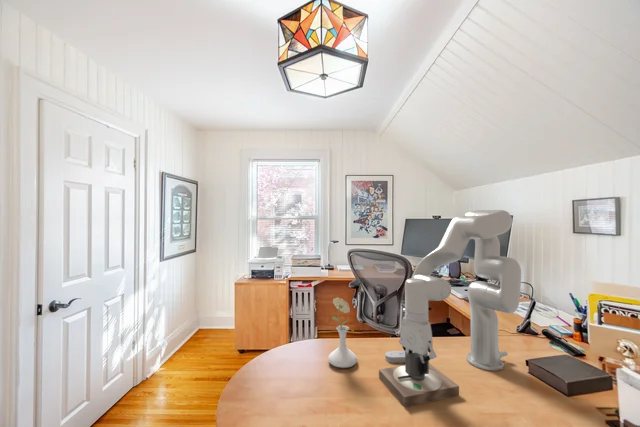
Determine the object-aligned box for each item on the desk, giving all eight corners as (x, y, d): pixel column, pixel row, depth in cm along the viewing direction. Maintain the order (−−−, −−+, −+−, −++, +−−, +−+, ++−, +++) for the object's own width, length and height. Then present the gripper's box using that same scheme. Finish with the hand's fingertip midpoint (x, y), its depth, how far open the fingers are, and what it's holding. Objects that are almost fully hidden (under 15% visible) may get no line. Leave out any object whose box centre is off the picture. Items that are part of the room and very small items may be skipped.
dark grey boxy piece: (421, 370, 98) (421, 350, 99) (430, 378, 94) (430, 357, 94) (394, 374, 96) (394, 353, 96) (402, 383, 91) (402, 361, 91)
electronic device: (383, 333, 116) (419, 332, 116) (384, 357, 116) (420, 356, 116) (386, 339, 111) (424, 338, 111) (387, 364, 111) (425, 363, 111)
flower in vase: (363, 366, 108) (362, 301, 108) (337, 374, 103) (337, 305, 103) (345, 352, 119) (345, 293, 120) (321, 357, 114) (321, 296, 115)
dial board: (427, 369, 106) (427, 360, 106) (459, 395, 90) (459, 385, 90) (379, 377, 100) (379, 368, 100) (404, 407, 85) (404, 396, 85)
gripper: (389, 311, 100) (389, 362, 100) (432, 326, 86) (432, 386, 86) (403, 307, 105) (403, 356, 104) (445, 321, 91) (446, 378, 90)
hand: (416, 369), depth 95 cm, fingers closed on dark grey boxy piece, 4 cm apart
